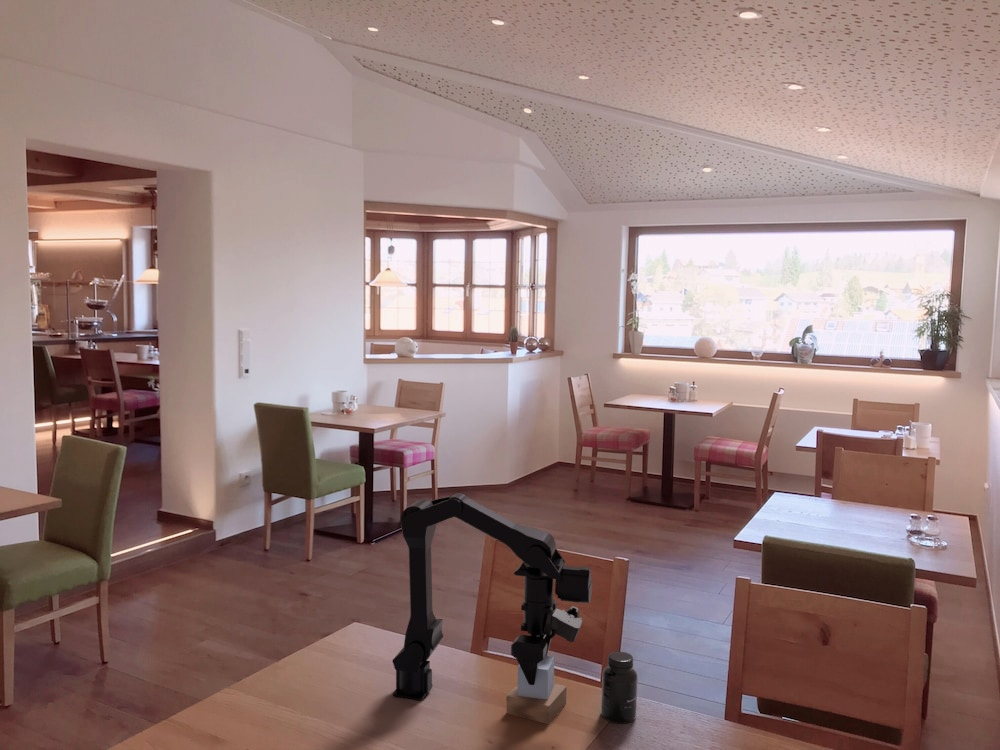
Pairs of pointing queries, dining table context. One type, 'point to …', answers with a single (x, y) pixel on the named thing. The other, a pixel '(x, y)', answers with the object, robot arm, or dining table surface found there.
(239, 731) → the dining table surface
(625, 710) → the supplement bottle
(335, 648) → the dining table surface
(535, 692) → the slate cube
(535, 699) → the tan flat square block
